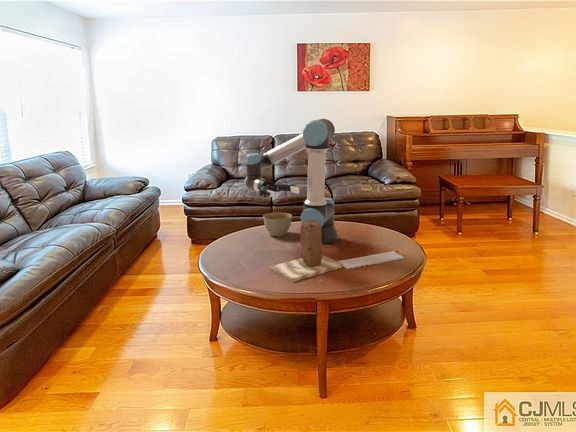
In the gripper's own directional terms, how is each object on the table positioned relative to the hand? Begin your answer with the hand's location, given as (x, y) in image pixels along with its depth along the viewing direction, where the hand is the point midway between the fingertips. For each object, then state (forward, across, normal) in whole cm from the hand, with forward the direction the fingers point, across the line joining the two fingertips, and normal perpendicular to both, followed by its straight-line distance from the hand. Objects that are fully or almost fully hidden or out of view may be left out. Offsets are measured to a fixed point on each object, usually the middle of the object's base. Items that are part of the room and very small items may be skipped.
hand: (286, 193), depth 219 cm
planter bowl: (-35, -16, -32) cm, 50 cm away
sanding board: (+18, +2, -32) cm, 37 cm away
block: (+17, -1, -31) cm, 35 cm away
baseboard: (+27, -28, -33) cm, 51 cm away
